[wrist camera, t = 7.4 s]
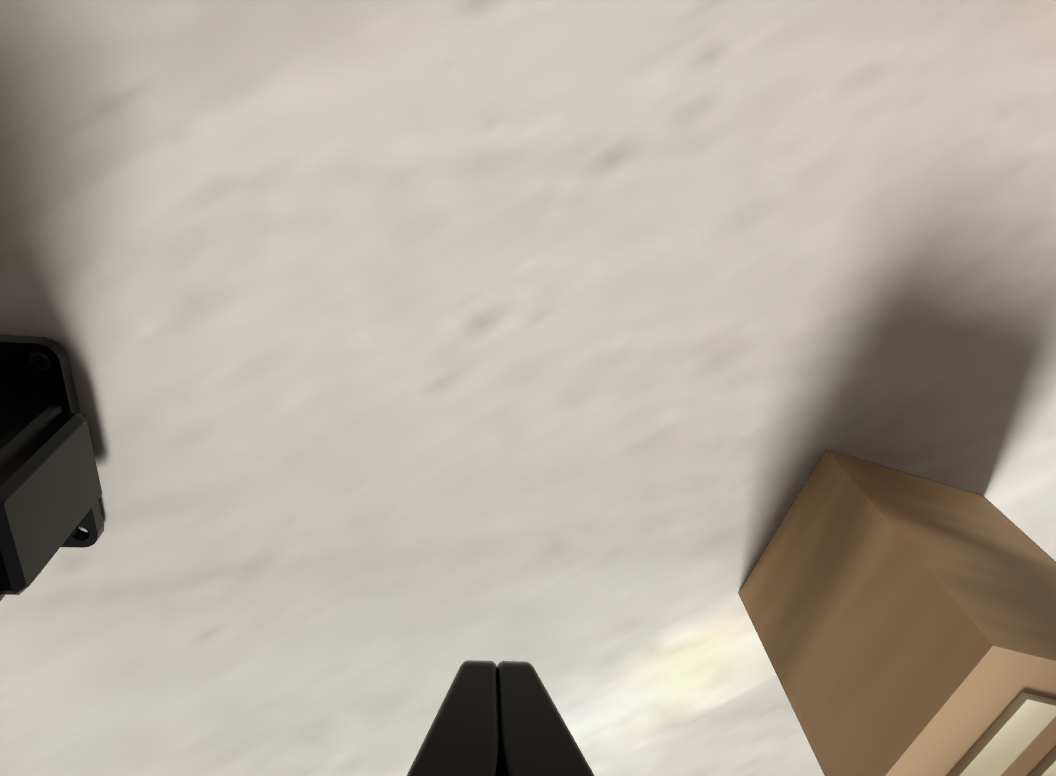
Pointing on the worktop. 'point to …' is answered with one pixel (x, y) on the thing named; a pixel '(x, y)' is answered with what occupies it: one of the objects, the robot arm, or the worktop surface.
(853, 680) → the striped block
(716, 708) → the worktop surface
